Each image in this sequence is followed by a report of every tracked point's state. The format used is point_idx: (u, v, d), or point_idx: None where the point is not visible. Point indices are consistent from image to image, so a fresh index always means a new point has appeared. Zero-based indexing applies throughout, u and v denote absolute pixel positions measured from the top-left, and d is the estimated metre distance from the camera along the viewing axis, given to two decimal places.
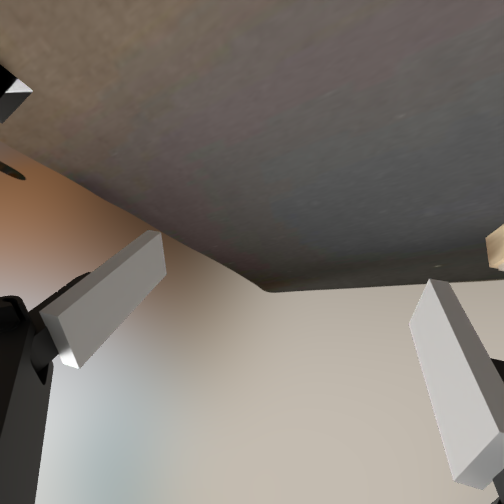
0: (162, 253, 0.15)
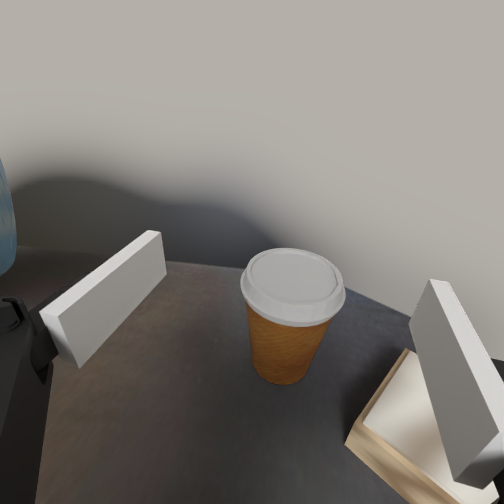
0: (162, 253, 0.15)
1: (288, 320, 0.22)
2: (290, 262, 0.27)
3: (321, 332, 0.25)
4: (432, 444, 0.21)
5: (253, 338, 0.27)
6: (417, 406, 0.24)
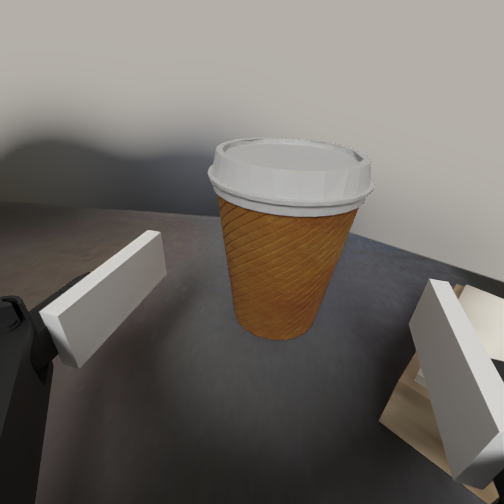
0: (162, 253, 0.15)
1: (283, 200, 0.13)
2: (286, 149, 0.18)
3: (337, 241, 0.16)
4: None
5: (231, 265, 0.18)
6: (499, 353, 0.14)
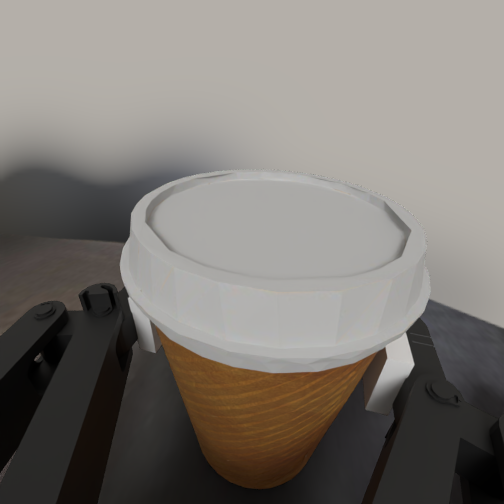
0: None
1: (246, 352, 0.06)
2: (269, 193, 0.11)
3: (358, 378, 0.08)
4: None
5: None
6: None
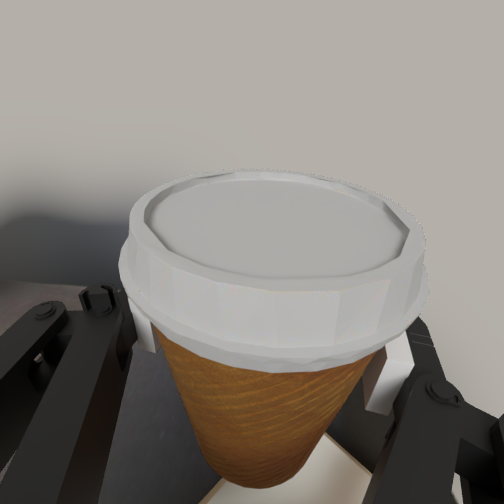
0: None
1: (244, 352, 0.06)
2: (268, 193, 0.11)
3: (357, 377, 0.08)
4: None
5: None
6: (272, 493, 0.19)
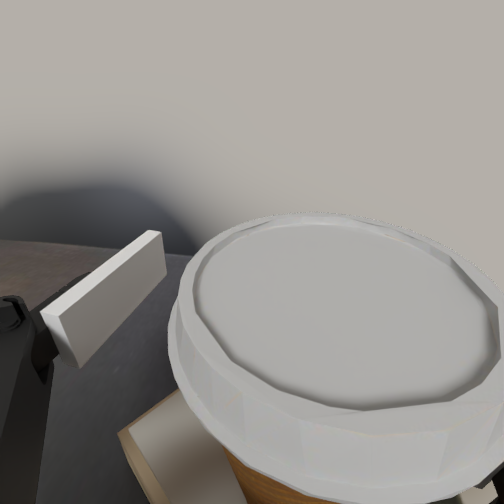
0: (162, 253, 0.15)
1: (332, 494, 0.05)
2: (315, 246, 0.10)
3: None
4: (208, 464, 0.14)
5: None
6: None
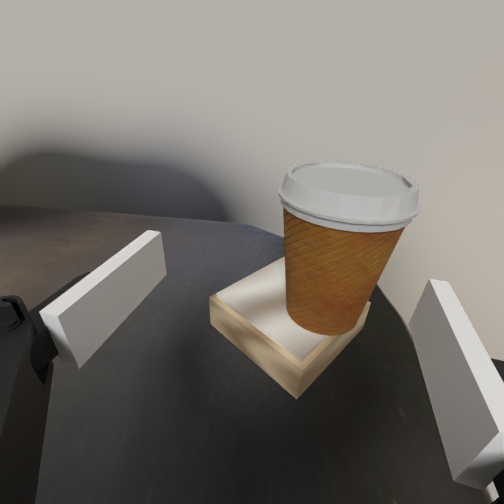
0: (162, 253, 0.15)
1: (347, 219, 0.16)
2: (341, 172, 0.21)
3: (386, 253, 0.19)
4: (266, 306, 0.26)
5: (291, 268, 0.21)
6: (267, 286, 0.28)
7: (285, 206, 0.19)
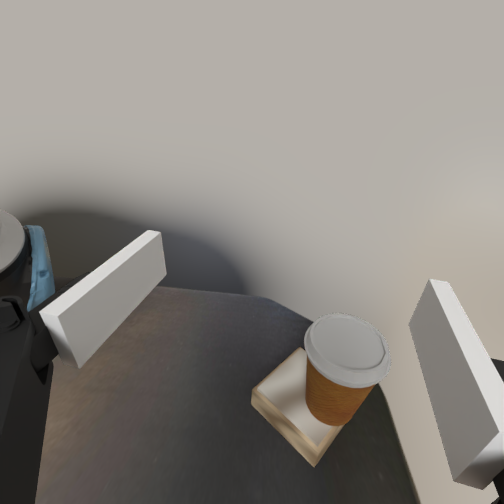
0: (162, 253, 0.15)
1: (347, 383, 0.29)
2: (343, 327, 0.34)
3: (370, 390, 0.31)
4: (292, 399, 0.38)
5: (311, 388, 0.34)
6: (291, 380, 0.41)
7: (309, 359, 0.32)
